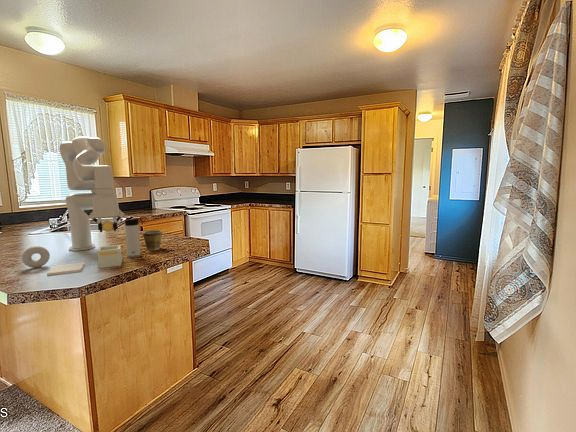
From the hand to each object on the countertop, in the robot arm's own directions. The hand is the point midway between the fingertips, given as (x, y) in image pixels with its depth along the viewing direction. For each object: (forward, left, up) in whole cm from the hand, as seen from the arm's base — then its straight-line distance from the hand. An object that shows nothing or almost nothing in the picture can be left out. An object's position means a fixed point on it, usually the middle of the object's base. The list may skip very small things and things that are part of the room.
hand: (108, 230), depth 144 cm
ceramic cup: (-25, +19, -16) cm, 35 cm away
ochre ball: (0, 0, +2) cm, 2 cm away
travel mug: (-11, +10, -16) cm, 22 cm away
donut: (-9, -30, -16) cm, 35 cm away
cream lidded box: (0, 0, -16) cm, 16 cm away
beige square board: (+1, -17, -16) cm, 23 cm away
